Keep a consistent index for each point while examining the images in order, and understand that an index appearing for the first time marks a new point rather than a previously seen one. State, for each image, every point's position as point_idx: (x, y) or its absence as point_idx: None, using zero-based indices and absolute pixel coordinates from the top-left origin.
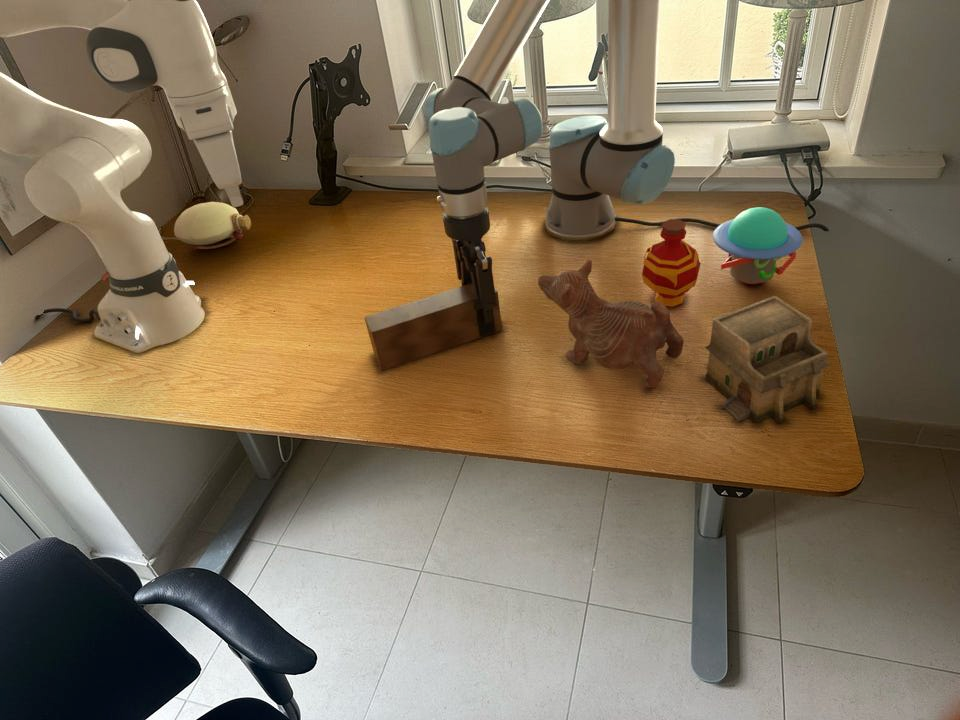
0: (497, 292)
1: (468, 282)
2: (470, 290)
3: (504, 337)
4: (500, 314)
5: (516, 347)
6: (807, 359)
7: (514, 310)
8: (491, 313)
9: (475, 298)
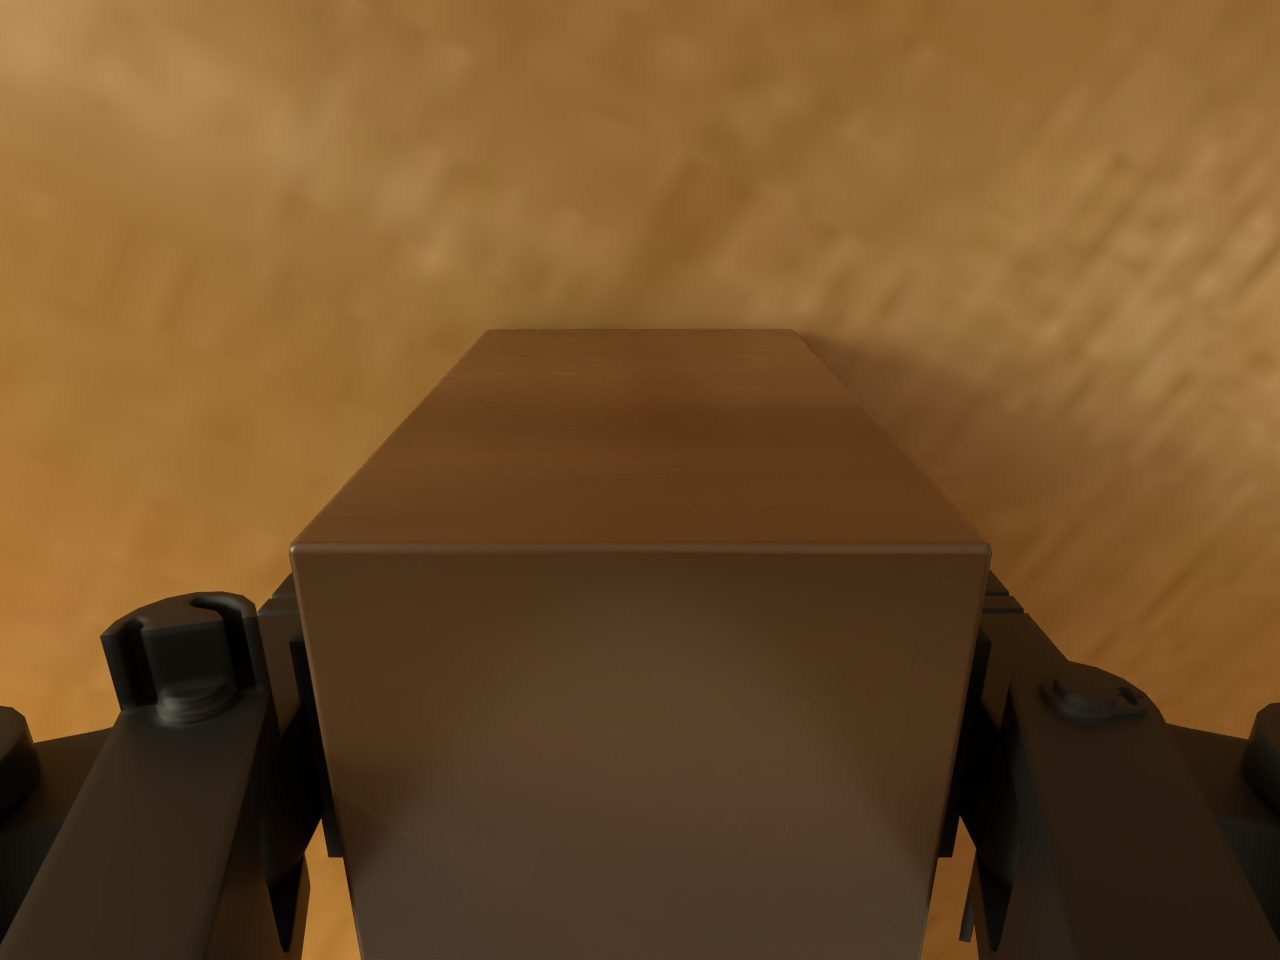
0: (991, 549)
1: (266, 856)
2: (601, 940)
3: (911, 357)
4: (837, 380)
5: (1138, 319)
6: None
7: (497, 27)
8: (1038, 627)
9: (912, 954)
